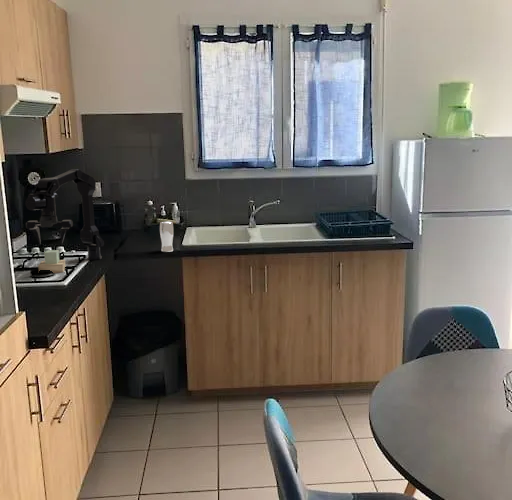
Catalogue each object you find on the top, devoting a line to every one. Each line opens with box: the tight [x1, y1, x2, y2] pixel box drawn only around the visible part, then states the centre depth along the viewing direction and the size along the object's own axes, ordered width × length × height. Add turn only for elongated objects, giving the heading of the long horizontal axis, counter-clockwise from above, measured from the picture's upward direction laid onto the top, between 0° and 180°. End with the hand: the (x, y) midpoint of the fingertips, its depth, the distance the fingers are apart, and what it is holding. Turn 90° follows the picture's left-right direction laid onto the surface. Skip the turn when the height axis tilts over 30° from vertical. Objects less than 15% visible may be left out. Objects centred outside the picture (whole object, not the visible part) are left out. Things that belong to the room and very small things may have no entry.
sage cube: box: [43, 249, 60, 264], centre depth 253 cm, size 5×5×5 cm
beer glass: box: [159, 221, 174, 253], centre depth 298 cm, size 7×7×15 cm
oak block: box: [37, 259, 66, 274], centre depth 254 cm, size 10×10×4 cm
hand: (51, 243), depth 252 cm, fingers open, 9 cm apart
